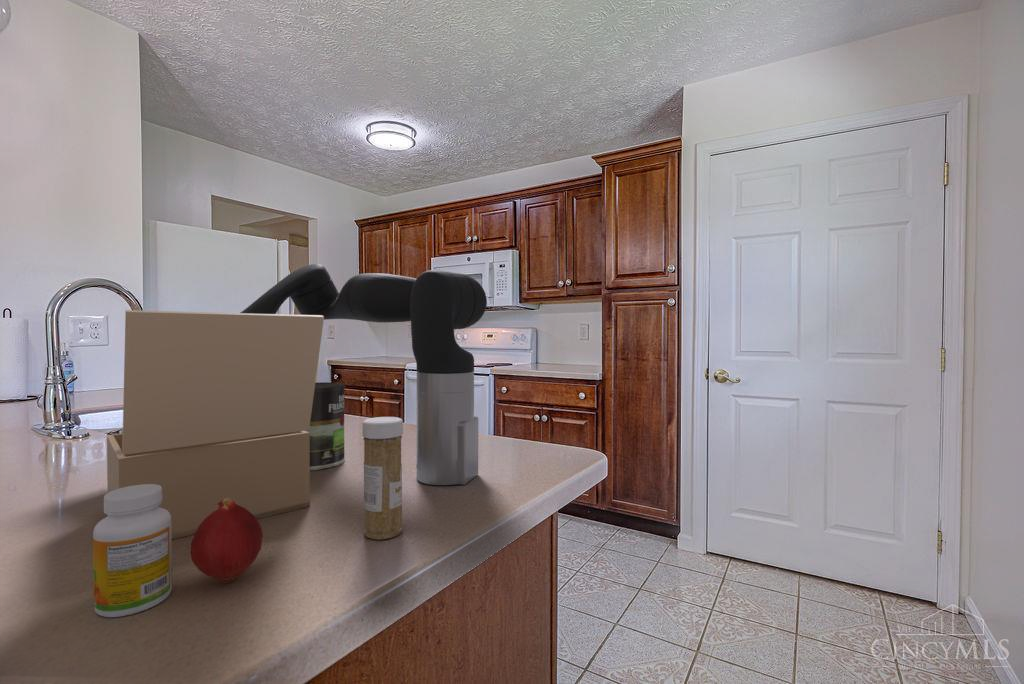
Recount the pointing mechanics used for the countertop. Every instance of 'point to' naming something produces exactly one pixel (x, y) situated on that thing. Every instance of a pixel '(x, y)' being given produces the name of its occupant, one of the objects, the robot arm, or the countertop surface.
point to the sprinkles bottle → (382, 477)
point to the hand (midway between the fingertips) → (222, 398)
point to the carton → (219, 476)
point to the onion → (226, 542)
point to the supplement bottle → (132, 552)
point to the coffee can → (327, 426)
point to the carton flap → (216, 377)
